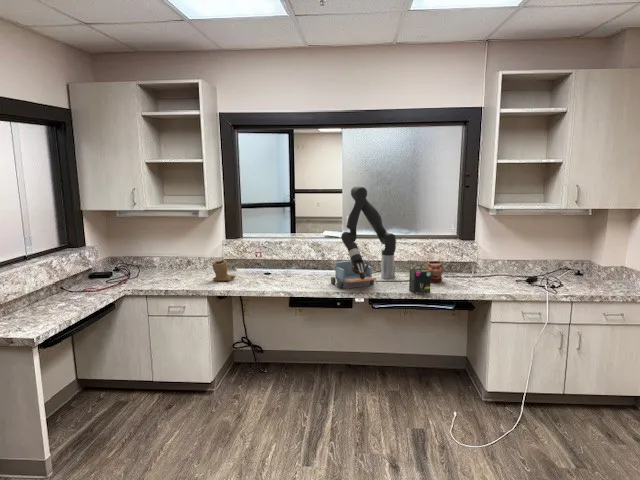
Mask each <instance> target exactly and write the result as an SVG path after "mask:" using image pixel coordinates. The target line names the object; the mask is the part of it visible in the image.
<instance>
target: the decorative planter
mask: <svg viewBox="0 0 640 480" xmlns="http://www.w3.org/2000/svg"><path fill="white" fill-rule="evenodd" d="M425 269H427V270H429V271H431V284H432V283H435V284H436V283H437V284H440V283H442V282H443V279H442V278H443V277H442V275H443V273H444V266H443V263H442V262H441V261H432V260H431V261H428V262H427V264H426V266H425Z"/></svg>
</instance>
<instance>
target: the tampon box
mask: <svg viewBox="0 0 640 480" xmlns="http://www.w3.org/2000/svg"><path fill="white" fill-rule="evenodd" d="M408 280H409V281H408V282H409V283H408V284H409V286H408V287H409V288H408V289H409V291H410V292H411V293H413V294H415V295H422V294H430V293H431V285H432V282H431V271H429V270H427V269H426V268H423V267H422V268H410V269H409V279H408Z"/></svg>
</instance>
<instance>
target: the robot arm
mask: <svg viewBox="0 0 640 480" xmlns="http://www.w3.org/2000/svg"><path fill="white" fill-rule="evenodd" d="M350 196H351V197H352V199H353V200H354V204H353V208H352V209H351V211H350V213H349V215H348V217H347V220H346V221H347V222H346V228H347V229H349V231H344V232H342V234H341V242H343V244H344V246H345V247H346V249H347V252H348V256H349V259H350V261H351V262H352V264H353V265H352V267H351V268H350V269H351V270H352V271H353V272H354V273H356V274H359V275H360V278H361V279H364V278H365V275H364V273H365V272H366V270H367V268H368V266H369V265H368V264H366V263H365V264H366V265H365V264H364V263H363V260H364V259H363V257H362V255H361V251H360V250H359V247H358V245H357V243H356V242H355V241H356V240H357V226H358V222H359V217H360V215H361V212H363V215H364V216H365V218H366V220H367V221H368V223H369V225H371V228H372V229H373V231H374V232H375V234H376V236H377V238H378V240H379V241H380V244H382V245H384V249H383V250H381V268H380V271H381V272H380V277H381V278H382V279H388V280H389V279H394V278H395V277H396V276H395V274H396V270H395V269H396V265H395V252H396V249H397V248H396V245H397V237H396V235H395V234H393V233H392V232H388V231H387V230H386V228H385V227H384V224H383V218H382V216H381V214H380V213H379V211H378V210H377V209H376V207H375V206H373V204H371V203H370V202H369V201H368V199H367V197H368V191H367V188H365V187H363V186H359V185H358V186H353V187H352V188H351V190H350ZM363 267H364V268H365V269H364V271H363Z"/></svg>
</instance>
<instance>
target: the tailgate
mask: <svg viewBox="0 0 640 480" xmlns="http://www.w3.org/2000/svg"><path fill="white" fill-rule="evenodd" d="M369 280H374V281H375V280H377V277H373V276H372V277H365V278H364V279H361V278H355V279H346V280H345V281H346V282H366V281H369Z"/></svg>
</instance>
